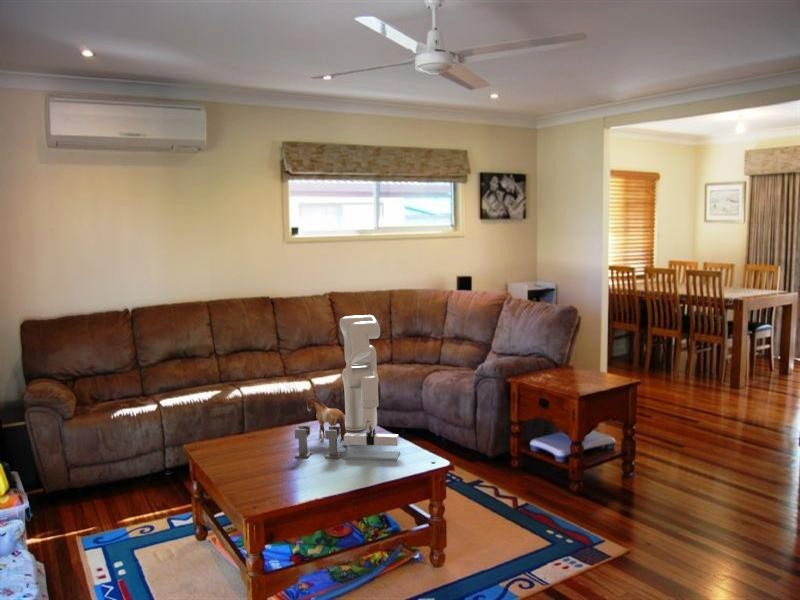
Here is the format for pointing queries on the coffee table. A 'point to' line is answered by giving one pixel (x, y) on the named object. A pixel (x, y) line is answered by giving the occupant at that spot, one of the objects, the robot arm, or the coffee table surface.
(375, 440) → the rail
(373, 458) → the mat
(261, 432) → the coffee table surface
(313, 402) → the horse figurine
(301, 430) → the post
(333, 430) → the post
